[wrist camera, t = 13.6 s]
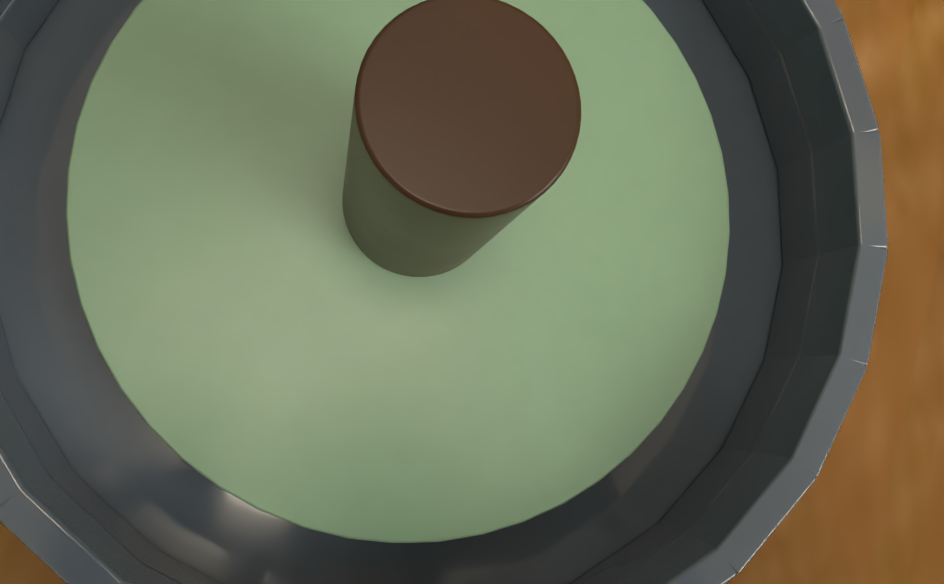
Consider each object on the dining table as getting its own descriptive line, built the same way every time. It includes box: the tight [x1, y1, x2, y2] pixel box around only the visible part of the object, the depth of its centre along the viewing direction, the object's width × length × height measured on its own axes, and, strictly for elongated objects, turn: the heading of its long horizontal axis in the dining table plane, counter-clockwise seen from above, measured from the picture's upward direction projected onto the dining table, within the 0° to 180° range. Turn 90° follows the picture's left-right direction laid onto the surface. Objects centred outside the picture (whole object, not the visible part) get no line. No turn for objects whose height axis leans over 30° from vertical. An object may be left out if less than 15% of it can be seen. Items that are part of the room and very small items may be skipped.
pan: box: [0, 0, 888, 584], centre depth 17 cm, size 17×17×4 cm
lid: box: [66, 0, 730, 543], centre depth 14 cm, size 12×12×7 cm
